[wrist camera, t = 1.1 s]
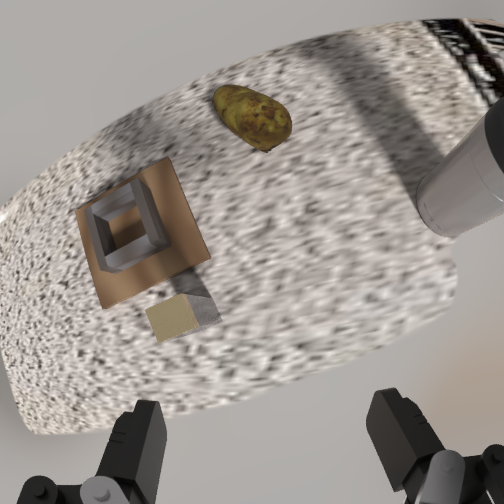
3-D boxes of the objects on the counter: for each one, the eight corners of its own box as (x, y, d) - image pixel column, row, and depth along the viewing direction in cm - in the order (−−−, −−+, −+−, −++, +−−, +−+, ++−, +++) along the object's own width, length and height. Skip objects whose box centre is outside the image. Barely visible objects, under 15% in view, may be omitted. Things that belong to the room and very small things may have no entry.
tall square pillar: (212, 298, 36) (180, 293, 24) (222, 321, 36) (194, 327, 24) (186, 309, 36) (144, 309, 24) (196, 332, 36) (158, 343, 24)
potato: (266, 87, 41) (263, 50, 33) (299, 156, 38) (302, 123, 30) (212, 104, 41) (200, 68, 33) (238, 176, 39) (228, 145, 31)
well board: (170, 160, 40) (157, 142, 35) (211, 257, 37) (200, 250, 32) (78, 213, 40) (59, 203, 35) (106, 308, 37) (85, 308, 32)
